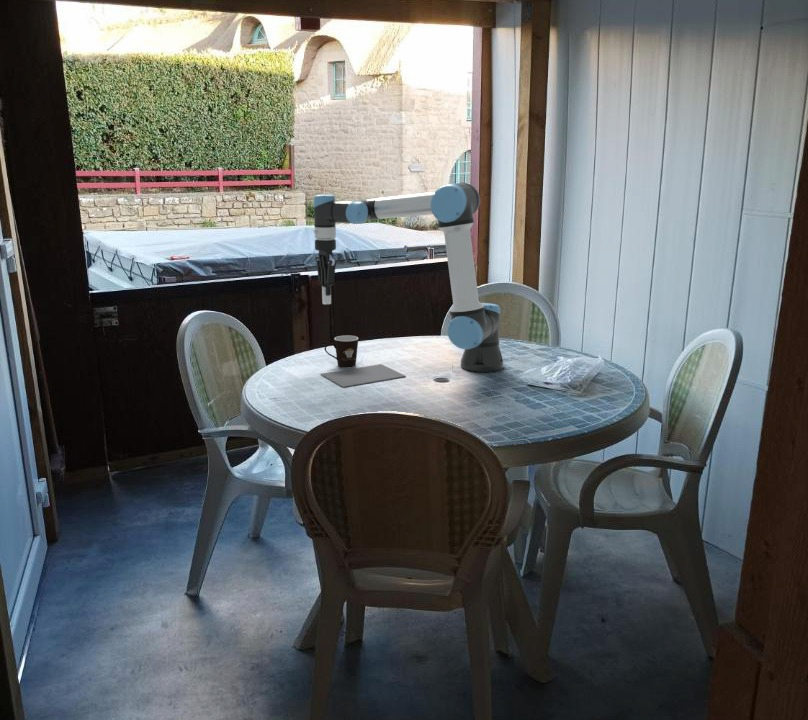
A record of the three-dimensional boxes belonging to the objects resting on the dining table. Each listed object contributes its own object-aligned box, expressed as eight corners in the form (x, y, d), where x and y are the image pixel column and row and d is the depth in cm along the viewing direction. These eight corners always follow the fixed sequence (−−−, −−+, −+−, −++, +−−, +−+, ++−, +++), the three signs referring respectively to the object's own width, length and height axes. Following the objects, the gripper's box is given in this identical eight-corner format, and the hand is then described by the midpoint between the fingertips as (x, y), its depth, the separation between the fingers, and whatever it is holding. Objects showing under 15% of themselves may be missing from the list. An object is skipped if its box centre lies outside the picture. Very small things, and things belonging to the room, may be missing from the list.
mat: (405, 376, 259) (405, 375, 258) (342, 387, 247) (342, 386, 246) (381, 365, 273) (381, 364, 272) (320, 374, 261) (320, 373, 260)
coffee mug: (360, 362, 276) (360, 335, 273) (356, 369, 268) (356, 341, 265) (329, 361, 277) (328, 334, 274) (324, 368, 269) (323, 340, 266)
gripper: (307, 237, 274) (309, 301, 280) (323, 241, 263) (325, 308, 269) (326, 236, 278) (328, 299, 284) (343, 240, 267) (344, 305, 273)
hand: (326, 303), depth 277 cm, fingers closed
